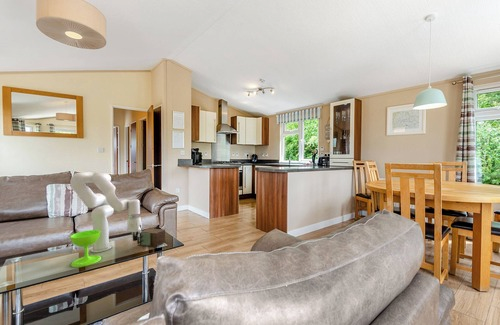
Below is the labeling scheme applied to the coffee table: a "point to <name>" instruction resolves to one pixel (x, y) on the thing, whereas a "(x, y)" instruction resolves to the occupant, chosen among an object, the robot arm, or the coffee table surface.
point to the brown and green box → (154, 236)
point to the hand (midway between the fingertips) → (135, 240)
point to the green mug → (144, 239)
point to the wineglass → (85, 247)
